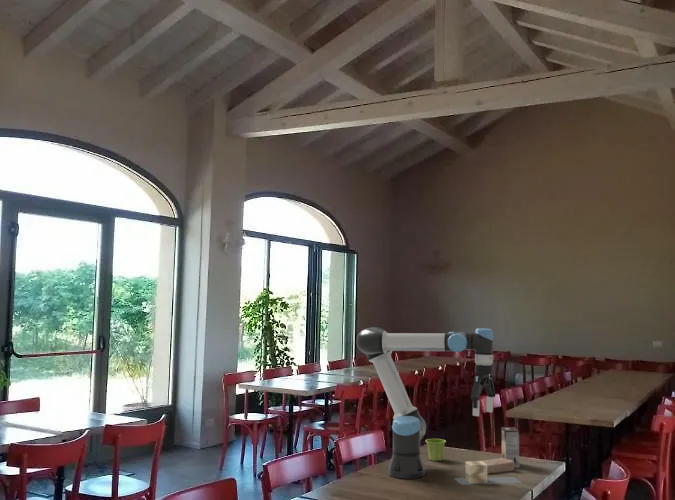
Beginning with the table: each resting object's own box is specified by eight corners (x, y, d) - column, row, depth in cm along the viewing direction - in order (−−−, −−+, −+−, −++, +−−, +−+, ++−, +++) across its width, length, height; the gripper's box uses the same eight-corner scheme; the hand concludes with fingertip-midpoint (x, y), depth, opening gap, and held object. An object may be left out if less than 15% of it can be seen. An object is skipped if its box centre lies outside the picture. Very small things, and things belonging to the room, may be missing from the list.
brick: (483, 475, 295) (483, 464, 295) (472, 471, 303) (472, 460, 303) (515, 472, 301) (515, 461, 302) (503, 468, 309) (503, 457, 309)
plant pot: (423, 461, 320) (423, 441, 320) (427, 456, 329) (427, 438, 329) (444, 462, 317) (444, 443, 317) (447, 458, 326) (447, 439, 326)
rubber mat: (460, 485, 278) (460, 484, 278) (453, 479, 288) (453, 478, 288) (522, 484, 281) (522, 483, 281) (513, 477, 290) (513, 476, 290)
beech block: (470, 483, 280) (470, 465, 280) (465, 478, 287) (465, 461, 287) (487, 482, 281) (487, 465, 281) (482, 478, 288) (481, 461, 288)
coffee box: (501, 462, 318) (500, 426, 319) (515, 462, 317) (514, 426, 319) (505, 467, 308) (505, 430, 310) (520, 467, 308) (519, 430, 309)
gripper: (479, 366, 290) (478, 418, 289) (503, 363, 310) (502, 411, 309) (462, 365, 295) (461, 416, 293) (487, 361, 315) (486, 409, 313)
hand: (482, 413), depth 301 cm, fingers open, 13 cm apart
